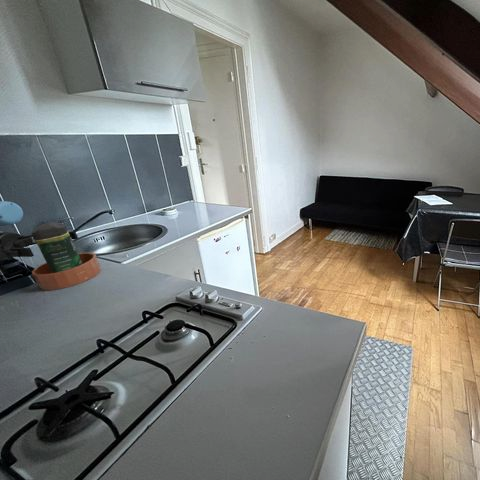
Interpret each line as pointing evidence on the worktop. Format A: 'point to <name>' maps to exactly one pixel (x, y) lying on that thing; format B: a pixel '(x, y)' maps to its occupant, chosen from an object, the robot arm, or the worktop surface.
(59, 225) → the coffee jar
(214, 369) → the worktop surface
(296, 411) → the worktop surface
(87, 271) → the bowl
